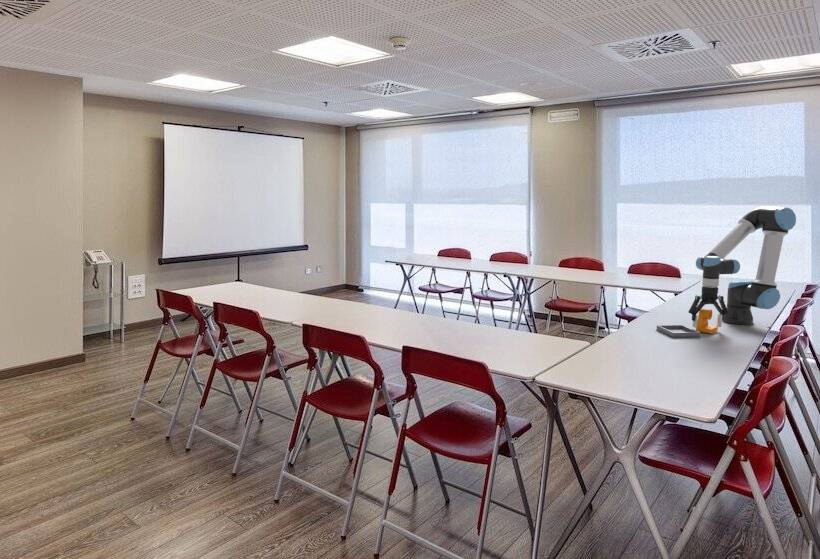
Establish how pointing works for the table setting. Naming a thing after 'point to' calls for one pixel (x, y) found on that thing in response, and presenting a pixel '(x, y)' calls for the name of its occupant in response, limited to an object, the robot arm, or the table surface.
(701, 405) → the table surface
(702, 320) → the bracket
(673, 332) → the tray
